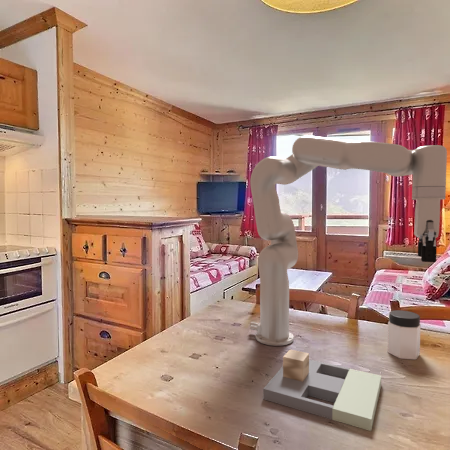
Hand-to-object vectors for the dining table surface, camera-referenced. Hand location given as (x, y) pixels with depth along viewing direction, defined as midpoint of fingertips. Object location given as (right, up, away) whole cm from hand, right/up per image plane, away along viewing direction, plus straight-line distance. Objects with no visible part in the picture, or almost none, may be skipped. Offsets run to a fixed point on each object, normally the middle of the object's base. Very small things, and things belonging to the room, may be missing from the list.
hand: (426, 259), depth 91 cm
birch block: (-36, -28, -5) cm, 46 cm away
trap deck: (-29, -31, -9) cm, 44 cm away
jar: (0, -30, +12) cm, 32 cm away
